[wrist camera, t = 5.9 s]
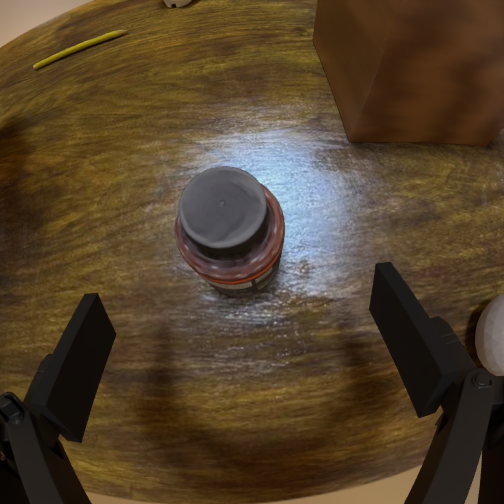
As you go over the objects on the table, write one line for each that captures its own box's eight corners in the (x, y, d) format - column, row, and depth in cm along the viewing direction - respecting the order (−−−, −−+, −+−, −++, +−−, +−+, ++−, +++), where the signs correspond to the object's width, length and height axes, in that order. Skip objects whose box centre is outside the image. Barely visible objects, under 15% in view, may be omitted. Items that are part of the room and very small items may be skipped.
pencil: (34, 71, 33) (32, 67, 32) (36, 67, 34) (33, 63, 33) (128, 34, 33) (126, 29, 32) (129, 30, 34) (127, 25, 33)
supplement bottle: (220, 214, 26) (192, 133, 15) (289, 239, 25) (308, 167, 14) (191, 282, 24) (136, 240, 13) (262, 310, 24) (261, 290, 13)
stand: (348, 142, 27) (424, -79, 6) (312, 41, 31) (329, -117, 10) (485, 146, 27) (589, 22, 6) (434, 52, 31) (485, -66, 10)
